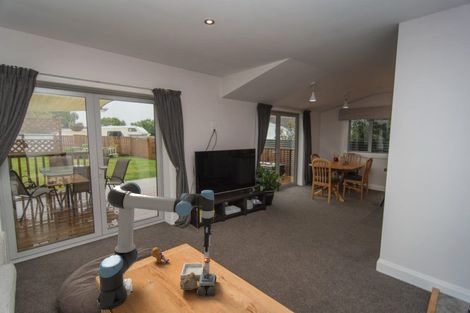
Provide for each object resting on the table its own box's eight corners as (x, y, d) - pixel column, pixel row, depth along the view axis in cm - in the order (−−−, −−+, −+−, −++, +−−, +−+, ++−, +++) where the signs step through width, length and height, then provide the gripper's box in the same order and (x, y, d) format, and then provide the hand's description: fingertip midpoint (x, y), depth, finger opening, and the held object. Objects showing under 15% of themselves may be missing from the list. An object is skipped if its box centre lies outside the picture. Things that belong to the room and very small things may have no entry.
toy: (170, 255, 160) (156, 241, 164) (162, 263, 155) (148, 248, 159) (168, 263, 169) (155, 249, 173) (160, 270, 164) (147, 256, 167)
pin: (203, 280, 134) (203, 261, 133) (204, 276, 138) (204, 257, 137) (210, 280, 135) (209, 261, 133) (210, 276, 138) (210, 257, 137)
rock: (196, 295, 133) (198, 283, 130) (178, 296, 131) (180, 283, 127) (196, 278, 144) (198, 266, 141) (179, 279, 142) (181, 266, 138)
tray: (180, 279, 145) (180, 275, 145) (184, 266, 159) (184, 262, 159) (202, 279, 146) (202, 274, 145) (203, 266, 160) (204, 262, 159)
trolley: (196, 296, 130) (196, 284, 129) (199, 281, 144) (199, 269, 143) (215, 296, 130) (215, 284, 130) (216, 281, 144) (216, 269, 144)
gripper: (212, 224, 121) (212, 262, 123) (214, 209, 145) (214, 241, 147) (199, 224, 120) (198, 262, 122) (203, 209, 145) (203, 241, 147)
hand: (207, 250), depth 135 cm, fingers open, 12 cm apart
